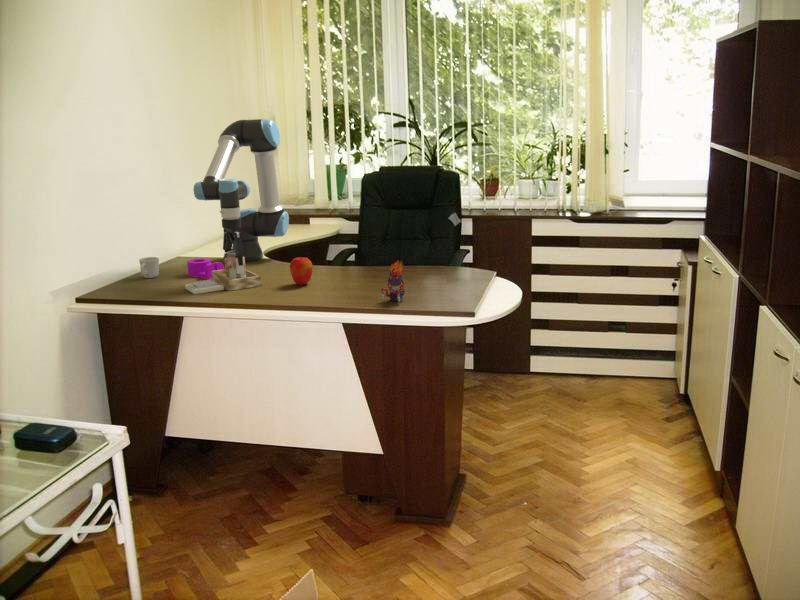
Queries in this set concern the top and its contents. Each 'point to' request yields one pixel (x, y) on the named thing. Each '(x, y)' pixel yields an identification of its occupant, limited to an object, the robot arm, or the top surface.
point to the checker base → (203, 290)
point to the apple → (301, 270)
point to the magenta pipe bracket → (202, 268)
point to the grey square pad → (203, 284)
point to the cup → (149, 267)
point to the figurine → (395, 283)
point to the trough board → (236, 280)
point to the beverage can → (233, 266)
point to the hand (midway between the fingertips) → (235, 270)
